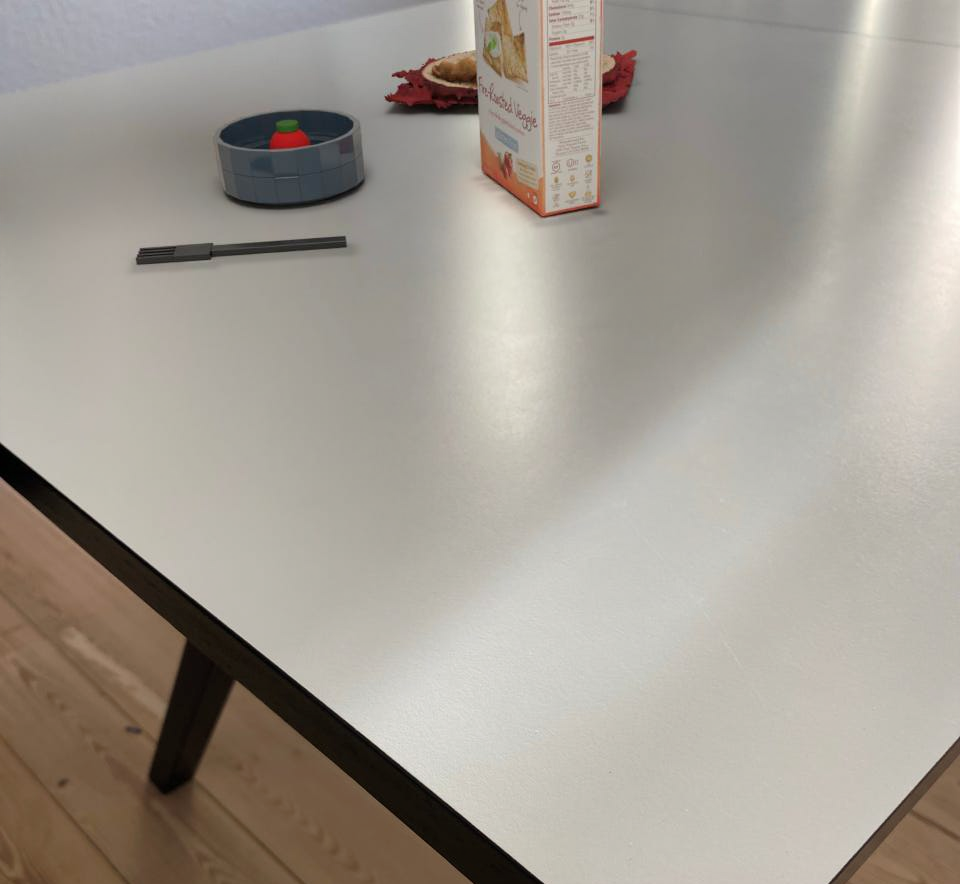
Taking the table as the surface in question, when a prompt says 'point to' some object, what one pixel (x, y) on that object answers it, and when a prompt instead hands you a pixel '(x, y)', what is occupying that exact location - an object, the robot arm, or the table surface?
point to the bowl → (290, 157)
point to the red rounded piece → (288, 136)
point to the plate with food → (459, 80)
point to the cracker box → (541, 99)
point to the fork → (231, 249)
